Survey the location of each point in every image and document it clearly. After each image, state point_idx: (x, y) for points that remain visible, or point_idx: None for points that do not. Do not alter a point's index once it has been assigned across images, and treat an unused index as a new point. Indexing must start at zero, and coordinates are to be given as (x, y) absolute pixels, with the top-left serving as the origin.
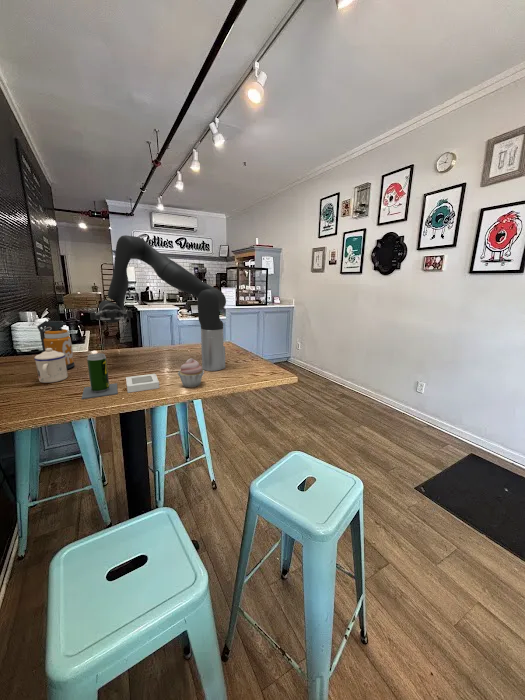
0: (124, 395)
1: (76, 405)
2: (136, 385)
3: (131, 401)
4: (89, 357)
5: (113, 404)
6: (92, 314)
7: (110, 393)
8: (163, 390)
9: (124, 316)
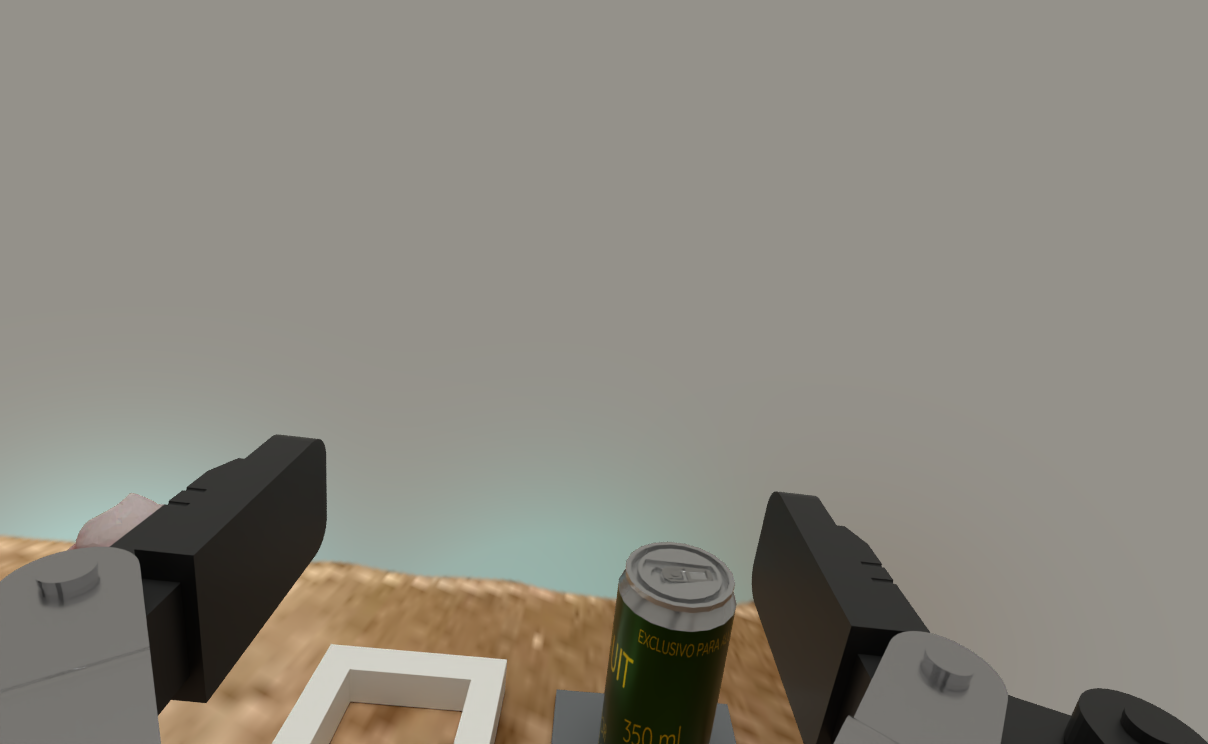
0: (527, 667)
1: (728, 658)
2: (457, 656)
3: (512, 603)
4: (713, 558)
5: (582, 608)
6: (1085, 730)
7: (591, 698)
8: (335, 642)
9: (314, 497)
